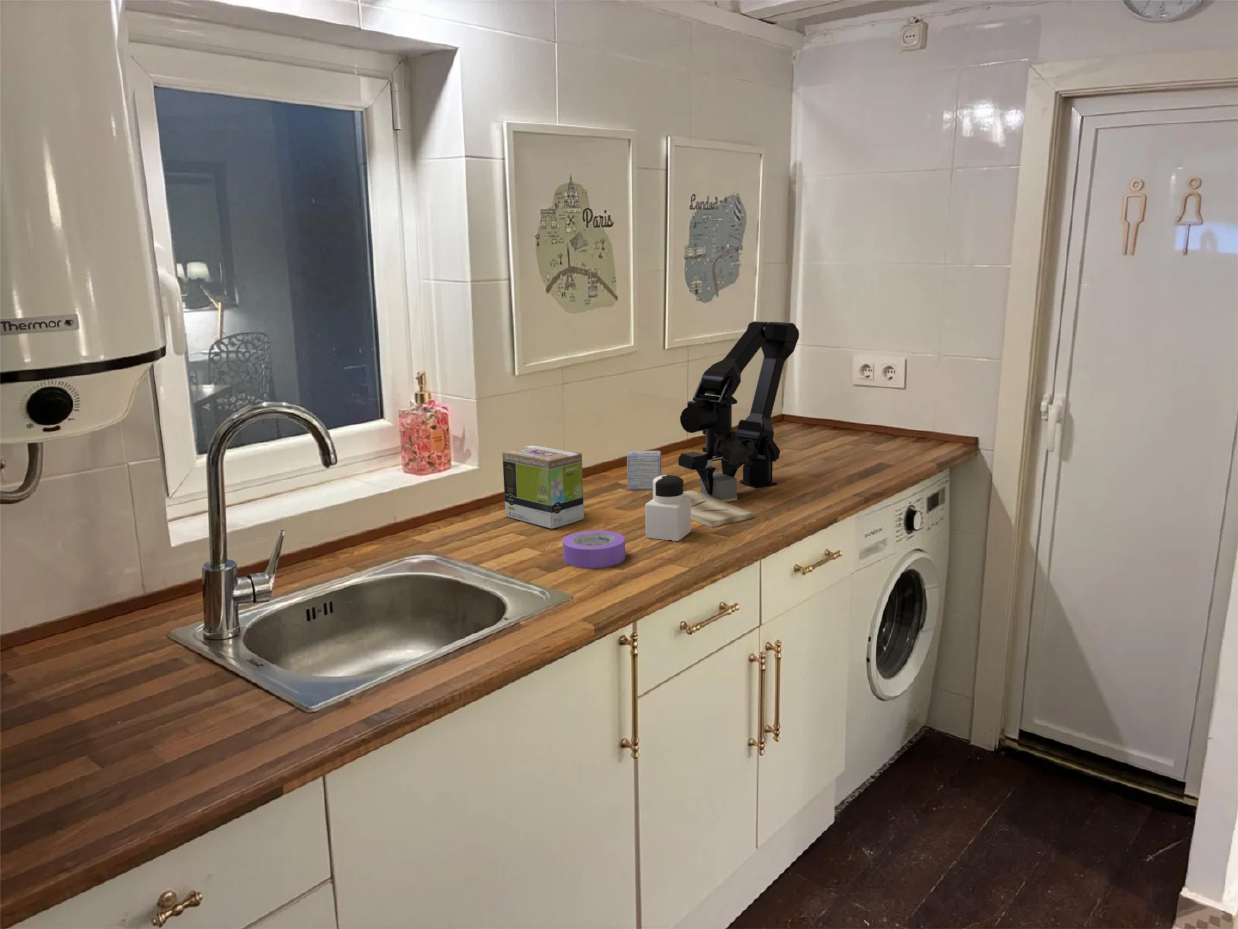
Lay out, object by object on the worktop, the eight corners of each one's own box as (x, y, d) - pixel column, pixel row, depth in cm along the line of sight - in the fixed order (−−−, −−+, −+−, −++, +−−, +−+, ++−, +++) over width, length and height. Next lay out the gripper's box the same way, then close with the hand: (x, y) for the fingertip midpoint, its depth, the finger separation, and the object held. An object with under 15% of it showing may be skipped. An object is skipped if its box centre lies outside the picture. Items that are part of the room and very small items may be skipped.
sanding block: (716, 492, 219) (716, 471, 218) (736, 500, 212) (737, 478, 211) (700, 495, 217) (700, 474, 216) (720, 503, 210) (721, 481, 209)
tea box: (585, 519, 200) (583, 451, 197) (551, 530, 193) (548, 460, 190) (538, 507, 210) (535, 442, 207) (503, 517, 203) (500, 450, 200)
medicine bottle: (691, 531, 190) (691, 474, 188) (678, 542, 184) (678, 483, 181) (658, 528, 193) (658, 471, 191) (645, 538, 187) (644, 479, 184)
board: (691, 495, 217) (691, 490, 217) (753, 518, 199) (753, 512, 198) (651, 503, 211) (651, 498, 211) (711, 527, 193) (711, 521, 193)
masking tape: (554, 554, 180) (553, 534, 179) (610, 545, 184) (610, 526, 183) (576, 573, 169) (575, 553, 168) (635, 563, 174) (635, 543, 173)
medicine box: (661, 485, 226) (661, 450, 224) (660, 490, 222) (660, 454, 220) (629, 485, 227) (628, 450, 225) (627, 490, 223) (626, 454, 220)
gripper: (707, 437, 199) (706, 507, 203) (774, 426, 209) (773, 494, 213) (676, 428, 209) (677, 496, 212) (742, 418, 218) (742, 484, 222)
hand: (718, 493), depth 214 cm, fingers closed on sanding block, 4 cm apart
